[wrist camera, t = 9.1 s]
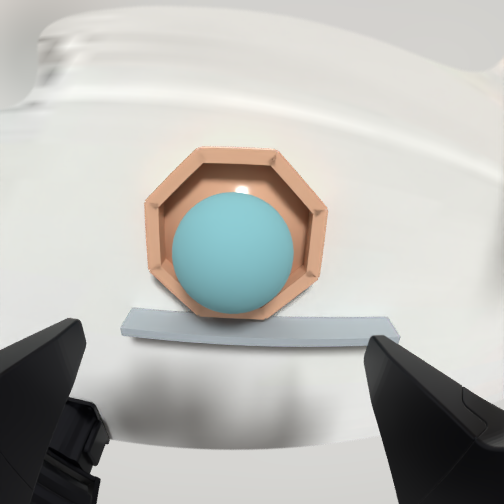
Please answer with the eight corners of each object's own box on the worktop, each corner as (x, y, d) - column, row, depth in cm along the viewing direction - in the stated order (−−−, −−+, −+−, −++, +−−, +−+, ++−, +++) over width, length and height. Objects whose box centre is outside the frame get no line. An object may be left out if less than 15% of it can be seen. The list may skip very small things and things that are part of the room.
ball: (185, 278, 20) (164, 334, 14) (183, 181, 18) (154, 205, 12) (281, 282, 20) (294, 340, 14) (290, 185, 18) (310, 211, 12)
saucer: (158, 301, 21) (152, 313, 20) (151, 146, 17) (143, 148, 16) (308, 308, 21) (312, 320, 20) (327, 153, 17) (333, 155, 16)
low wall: (133, 315, 21) (121, 335, 19) (132, 307, 21) (120, 327, 19) (385, 323, 22) (398, 344, 19) (387, 316, 21) (400, 336, 19)
